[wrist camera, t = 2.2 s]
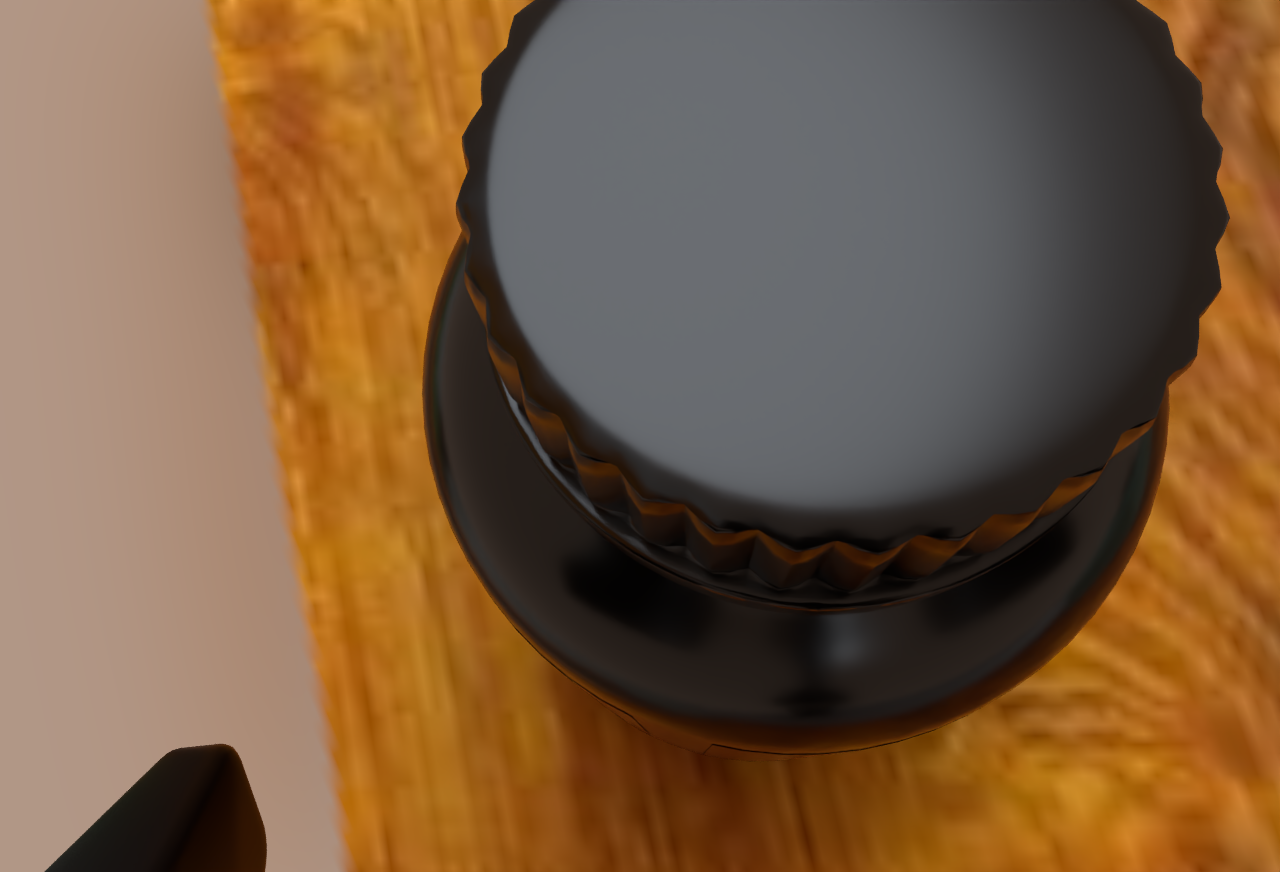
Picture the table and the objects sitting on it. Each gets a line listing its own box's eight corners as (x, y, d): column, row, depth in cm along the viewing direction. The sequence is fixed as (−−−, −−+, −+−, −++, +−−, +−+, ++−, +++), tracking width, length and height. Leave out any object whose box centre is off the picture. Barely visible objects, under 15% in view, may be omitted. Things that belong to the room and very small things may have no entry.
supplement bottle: (897, 298, 20) (1218, -357, 8) (1014, 709, 18) (1640, 612, 6) (492, 380, 20) (236, -174, 8) (569, 804, 18) (382, 881, 6)
